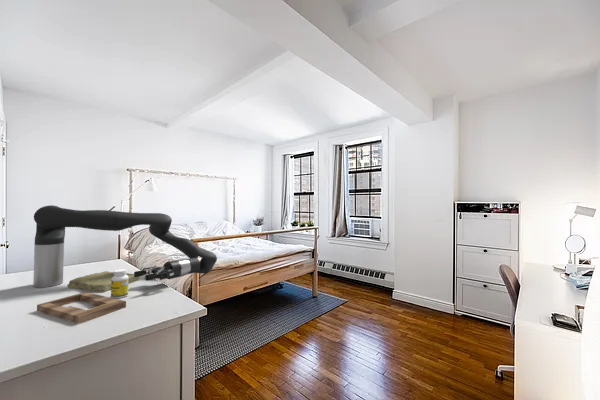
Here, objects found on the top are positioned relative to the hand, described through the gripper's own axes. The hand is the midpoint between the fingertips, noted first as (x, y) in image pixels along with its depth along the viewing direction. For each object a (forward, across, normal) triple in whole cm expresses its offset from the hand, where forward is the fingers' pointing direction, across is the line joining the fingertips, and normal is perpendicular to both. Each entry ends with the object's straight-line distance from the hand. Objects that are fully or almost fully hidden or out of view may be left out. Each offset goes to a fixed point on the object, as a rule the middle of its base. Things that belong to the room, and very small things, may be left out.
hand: (139, 276), depth 108 cm
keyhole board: (+20, +3, +6) cm, 21 cm away
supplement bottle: (+7, 0, +6) cm, 10 cm away
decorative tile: (+4, -22, +7) cm, 23 cm away
